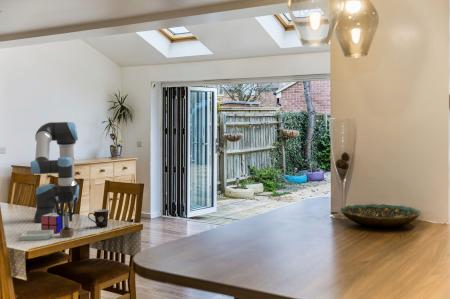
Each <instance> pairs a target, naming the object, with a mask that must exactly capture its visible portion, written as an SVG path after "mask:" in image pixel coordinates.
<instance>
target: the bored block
mask: <svg viewBox="0 0 450 299" xmlns="http://www.w3.org/2000/svg"><path fill="white" fill-rule="evenodd" d="M59 234H60V235H59V237H60V238H62V239H63V238H72V237H74V227H70V228H69V230H65V229H64V228H62V229H61V230H60V233H59Z"/></svg>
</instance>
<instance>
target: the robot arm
mask: <svg viewBox="0 0 450 299" xmlns="http://www.w3.org/2000/svg"><path fill="white" fill-rule="evenodd" d="M34 135H35V137H34V139H35V141H36V144H35V157H34V159H35V160H32V161H30V173H31V174H32V175H47V174H57V177H58V178H57V184H58V185H55V183H50V184H49V183H48V184H43V185H39V186H37V187H36V189H35V197H36V198H35V200H36V202H35V203H36V205H35V206H36V211H35V213H34V217H33V222H34V223H38V224H41V216H43V215H46V214H49V213H57V215H60V216H61V222H63V228H65V223H64V216H63V215H64V212H65V204H67V209H68V212H69V216H68V228H71V222H72V221H73V215H75V214H76V210H77V202H78V201H79V197H80V196H79V194H80V185H79V184H78V183H77V181H76V180H75V162H74V161H75V160H74V159H75V158H74V157H75V156H74V154H75V153H74V151H75V150H74V146H75V145H76V143H77V142H76V141H78V140H79V137H78V130H77V126H76V123H75V122H74V121H73V122H72V121H64V122H63V121H54V122H53V121H52V122H51V121H50V122H47V123H45V124H42V125H41V126H40V127H39V128H38V129H37V131H36V132H35V134H34ZM53 141H54V142H55V141H56V145H58V146H59V157H58V158H57V159H52V160H51V159H50V150H51V149H50V148H51V146H50V145H51V144H50V143H51V142H53ZM72 204H73V205H72ZM60 205H61V206H60Z"/></svg>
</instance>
